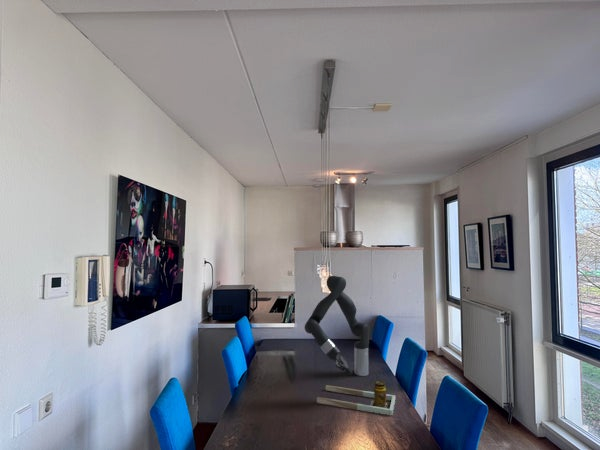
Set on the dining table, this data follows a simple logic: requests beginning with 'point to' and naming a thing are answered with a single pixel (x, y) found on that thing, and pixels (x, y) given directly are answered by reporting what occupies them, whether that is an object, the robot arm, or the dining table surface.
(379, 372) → the dining table surface
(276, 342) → the dining table surface
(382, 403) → the condiment
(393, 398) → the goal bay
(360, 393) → the wooden guide rails
